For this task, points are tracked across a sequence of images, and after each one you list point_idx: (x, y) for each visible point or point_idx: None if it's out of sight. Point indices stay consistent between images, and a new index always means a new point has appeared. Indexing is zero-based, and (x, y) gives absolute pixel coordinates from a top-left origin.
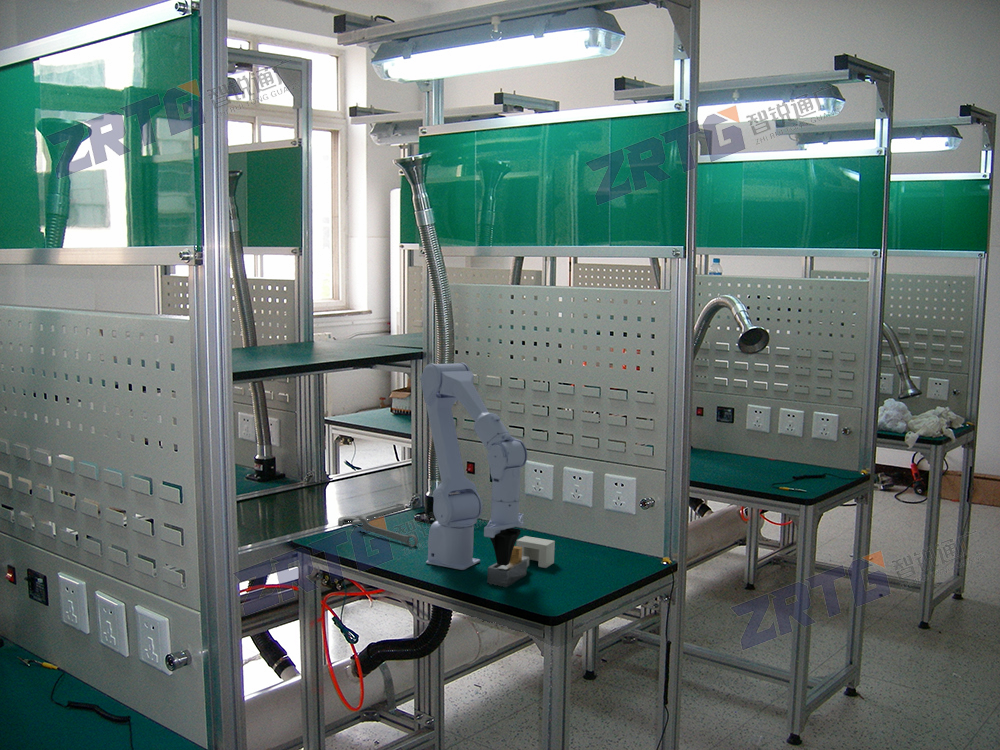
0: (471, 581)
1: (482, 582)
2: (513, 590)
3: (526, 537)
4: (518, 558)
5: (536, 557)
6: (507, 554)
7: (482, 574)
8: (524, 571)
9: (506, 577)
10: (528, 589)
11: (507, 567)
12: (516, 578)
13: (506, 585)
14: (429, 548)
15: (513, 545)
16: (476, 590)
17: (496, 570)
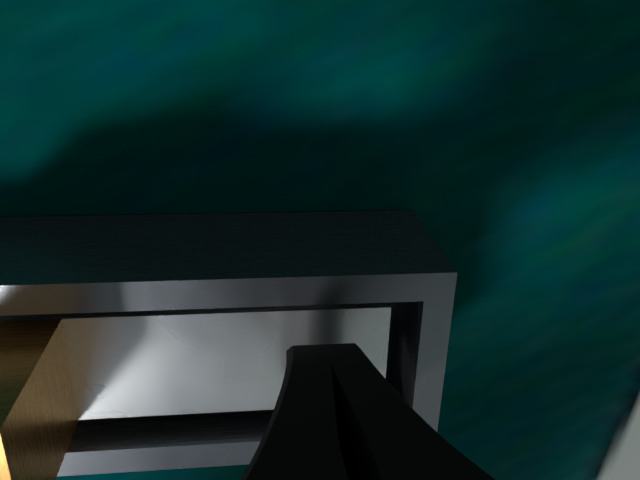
0: None
1: None
2: (454, 128)
3: None
4: (45, 351)
5: None
6: (413, 411)
7: (217, 477)
8: (26, 234)
9: (435, 247)
10: (365, 20)
11: (263, 341)
12: (213, 223)
13: (416, 216)
14: None
15: (283, 477)
16: (569, 350)
17: (440, 368)
